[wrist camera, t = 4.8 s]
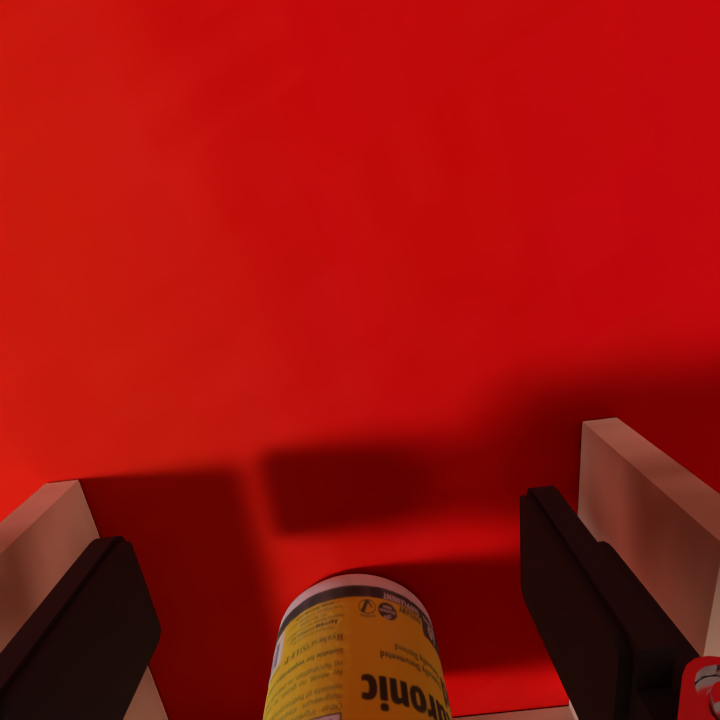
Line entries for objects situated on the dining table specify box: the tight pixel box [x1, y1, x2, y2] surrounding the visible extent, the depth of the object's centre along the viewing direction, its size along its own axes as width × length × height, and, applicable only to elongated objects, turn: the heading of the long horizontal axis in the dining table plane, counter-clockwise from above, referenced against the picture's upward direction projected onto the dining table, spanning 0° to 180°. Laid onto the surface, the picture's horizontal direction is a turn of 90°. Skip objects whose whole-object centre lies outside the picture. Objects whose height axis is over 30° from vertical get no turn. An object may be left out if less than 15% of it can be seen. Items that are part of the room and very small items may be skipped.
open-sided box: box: [0, 417, 720, 720], centre depth 12 cm, size 13×17×5 cm
